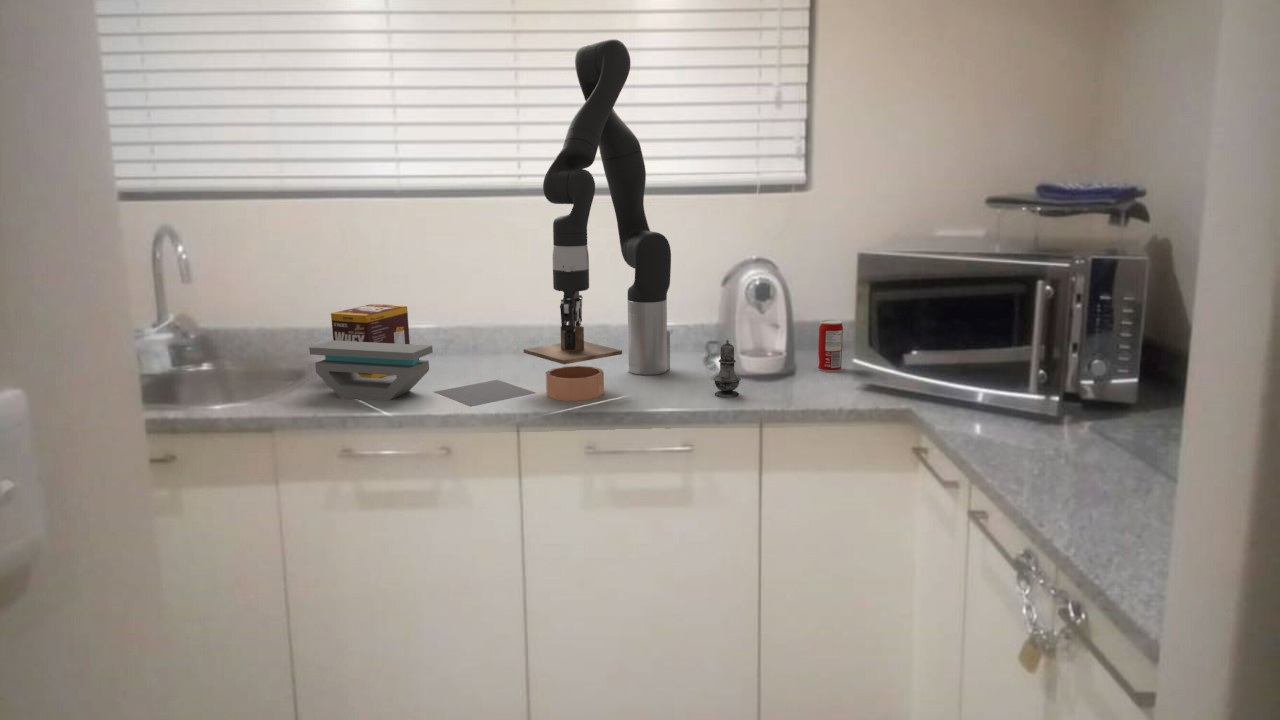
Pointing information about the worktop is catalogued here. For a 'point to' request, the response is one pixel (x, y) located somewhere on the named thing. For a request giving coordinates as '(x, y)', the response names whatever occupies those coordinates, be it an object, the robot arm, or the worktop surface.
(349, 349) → the sharpening stone
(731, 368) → the salt shaker
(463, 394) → the charcoal mat
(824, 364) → the soda can
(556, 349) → the walnut lid
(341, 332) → the supplement box
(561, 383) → the terracotta bowl
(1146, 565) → the worktop surface
